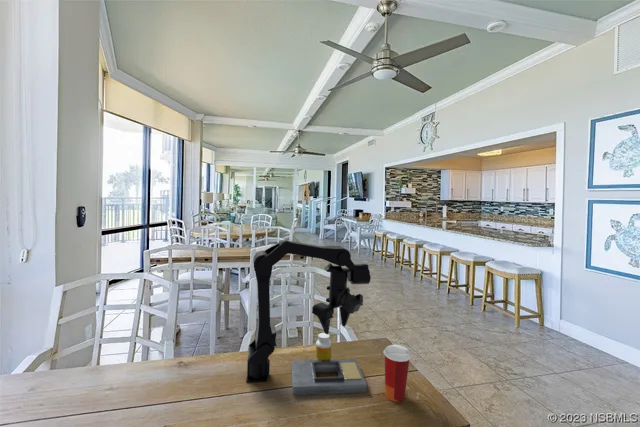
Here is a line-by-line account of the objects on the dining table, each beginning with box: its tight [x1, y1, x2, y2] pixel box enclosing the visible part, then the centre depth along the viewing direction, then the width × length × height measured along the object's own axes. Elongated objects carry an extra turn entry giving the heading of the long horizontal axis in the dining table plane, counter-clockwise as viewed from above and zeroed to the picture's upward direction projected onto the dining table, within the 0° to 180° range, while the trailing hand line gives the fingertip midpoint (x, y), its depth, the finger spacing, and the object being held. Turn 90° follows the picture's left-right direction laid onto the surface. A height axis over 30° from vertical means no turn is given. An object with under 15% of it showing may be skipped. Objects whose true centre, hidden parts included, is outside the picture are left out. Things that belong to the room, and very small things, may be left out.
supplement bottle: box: [314, 332, 332, 360], centre depth 108 cm, size 5×5×10 cm
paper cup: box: [383, 344, 412, 403], centre depth 91 cm, size 8×8×14 cm
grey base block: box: [291, 358, 368, 396], centre depth 98 cm, size 22×14×3 cm, turn 97°
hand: (335, 329), depth 104 cm, fingers open, 9 cm apart
